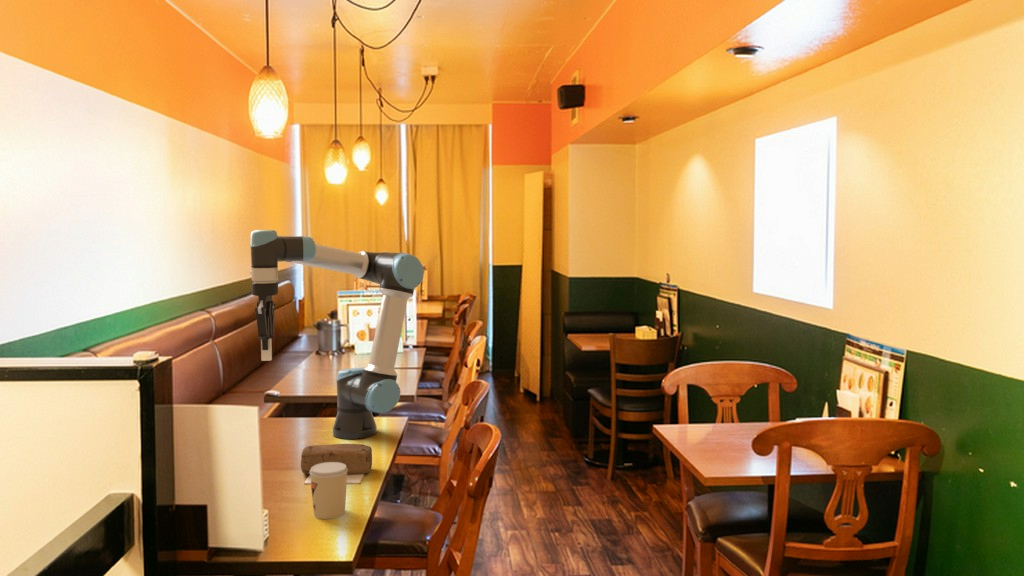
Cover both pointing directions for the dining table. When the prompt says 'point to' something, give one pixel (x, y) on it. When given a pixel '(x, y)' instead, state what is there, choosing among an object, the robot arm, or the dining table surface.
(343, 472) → the coffee cup
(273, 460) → the dining table surface
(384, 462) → the dining table surface
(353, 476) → the mat
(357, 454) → the block
